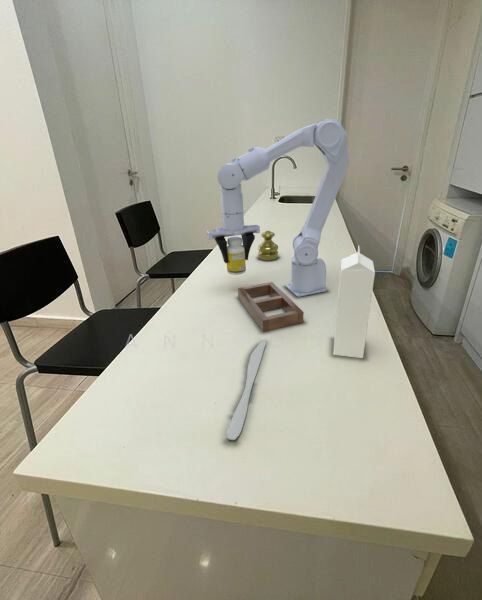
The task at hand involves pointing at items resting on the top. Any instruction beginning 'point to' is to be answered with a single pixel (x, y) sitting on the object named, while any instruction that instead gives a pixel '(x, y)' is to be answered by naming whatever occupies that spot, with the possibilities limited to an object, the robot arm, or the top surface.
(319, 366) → the top surface
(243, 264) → the supplement bottle
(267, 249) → the brass tiered ornament
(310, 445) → the top surface
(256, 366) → the butter knife
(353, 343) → the milk
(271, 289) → the divided wooden frame
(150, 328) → the top surface
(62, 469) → the top surface
